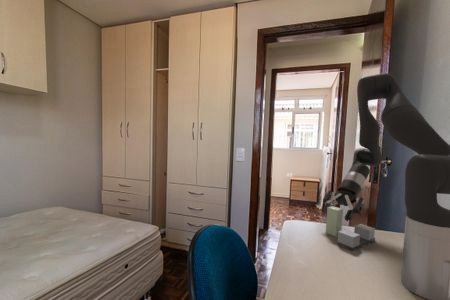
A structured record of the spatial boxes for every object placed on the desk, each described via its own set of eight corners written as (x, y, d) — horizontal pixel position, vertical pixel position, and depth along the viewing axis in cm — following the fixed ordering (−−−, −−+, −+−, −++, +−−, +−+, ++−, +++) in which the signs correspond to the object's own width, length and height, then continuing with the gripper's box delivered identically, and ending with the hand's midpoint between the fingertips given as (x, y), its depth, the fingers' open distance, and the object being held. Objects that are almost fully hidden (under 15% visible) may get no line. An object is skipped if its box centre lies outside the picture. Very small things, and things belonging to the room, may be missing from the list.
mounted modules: (374, 237, 81) (375, 228, 81) (352, 247, 72) (353, 237, 72) (359, 232, 85) (360, 223, 85) (337, 241, 76) (338, 231, 76)
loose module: (341, 234, 85) (343, 209, 85) (335, 236, 83) (337, 210, 82) (331, 230, 88) (333, 206, 88) (325, 232, 86) (327, 207, 86)
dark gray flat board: (374, 240, 81) (375, 238, 81) (353, 251, 72) (353, 248, 72) (358, 235, 85) (359, 232, 85) (336, 244, 76) (336, 241, 76)
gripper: (332, 176, 96) (314, 205, 90) (368, 182, 84) (350, 216, 78) (338, 187, 99) (321, 216, 93) (373, 194, 87) (357, 228, 81)
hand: (335, 216), depth 85 cm, fingers open, 8 cm apart
